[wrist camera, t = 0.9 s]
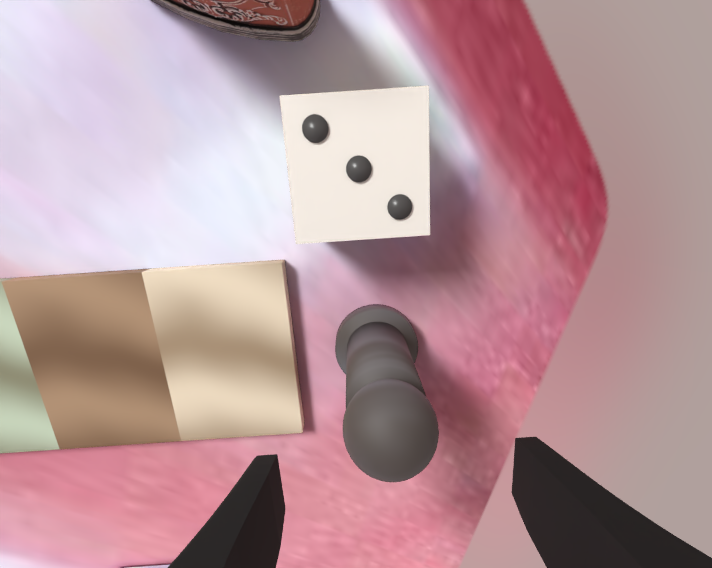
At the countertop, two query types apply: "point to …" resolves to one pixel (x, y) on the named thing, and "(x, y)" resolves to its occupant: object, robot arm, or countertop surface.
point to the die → (358, 163)
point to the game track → (147, 357)
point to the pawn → (384, 395)
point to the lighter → (252, 16)
